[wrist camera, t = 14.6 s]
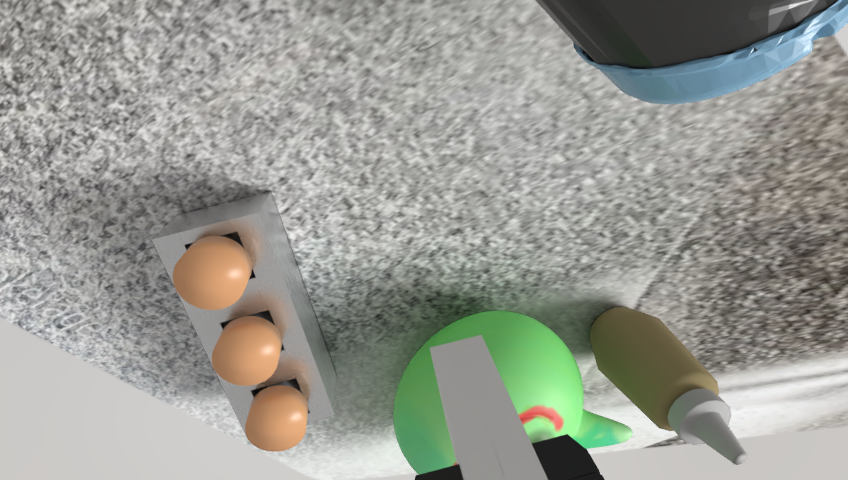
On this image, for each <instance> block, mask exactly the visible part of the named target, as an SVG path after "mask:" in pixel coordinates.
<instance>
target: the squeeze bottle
mask: <svg viewBox="0 0 848 480" xmlns="http://www.w3.org/2000/svg"><path fill="white" fill-rule="evenodd" d="M589 337H590V341H591V345H592V348H593V352H594V356H595V359H596V362H597V366H598V369H599V370H600V371H601V372H602V373H603V374H604V375H605V376H606V377H607V378H608V379H609V380H610V381H611V382H612V383H613V384H614V385H615V386H616V387H617V388H618V389H619V390H620V391H621V392H622V393H624V394H625V395H626V396H627V397H628V398H629V399H630V400H631V401H632V402H633V403H634V404H635V405H636V406H637V407H638V408H639V409H640V410H641V411H642V412H643V413H644V414H645V415H646V416H647V417H648V418H649V419H650V420H651V421H652V422H653V423H654V424H656V425H657V426H658V427H659V428H661V429H665V430H668V431H675V432H676V433H677V434H678V436H679V437H680V438H681V439H682V440H683V441H684V442H685V443H689V444H693V445H697V444H705V443H706V444H707V445H709V446H710V447H712V448H713V449H714V450H716V451H717V452H719V453H720V454H721V455H723V456H724V457H726V458H727V459H728V460H730V461H731V462H732V463H734V464H736V465H738V464H742V463H743V462H745V460H746V459H747V454H746V452H745V451H744V449H743V448H742V446H741V445H740V443H739V442H738V440H737V439H736V437H735V436H734V434H733V433H732V431H731V430H730V428H729V427H728V425H729V422H730V418H731V411H730V407H729V406H728V405H727V404H726V403H725V402H724V401H723V400H722V399H721V398H720V397H719V396H718V394H719V390H718V384H717V381H716V380H715V379H714V378H713V377H712V375H711V374H710V373H709V372H708V371H707V370H706V369H705V368H704V367H703V366H702V365H701V363H700V362H699V361H698V360H697V359H696V358H695V357H694V356H693V355H692V354H691V353H690V352H689V351H688V349H687V348H686V347H685V346H684V345H683V344H682V343H681V342H680V341H679V340H678V339H677V338H676V336H675V335H674V334H673V333H672V332H671V331H670V330H669V329H668V328H667V327H666V326H665V325H664V323H663V322H662V321H661V320H660V319H659V318H656V317H653V316H651V315H648V314H645V313H642V312H639V311H635V310H632V309H629V308H626V307H615V308H612V309H610V310H607V311H605V312H604V313H602V314H601V315H600V316H599V317H598V318H597V319H596V320H595V322H594V323H593V325H592V327H591V330H590V336H589Z"/></svg>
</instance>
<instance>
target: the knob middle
mask: <svg viewBox="0 0 848 480" xmlns="http://www.w3.org/2000/svg"><path fill="white" fill-rule="evenodd" d="M281 347H282V337H281V334H280V332H279V330H278V329H277V328H276V327H275V324H274V321H273V319H272V316H271V314H270V311H269V310H266V311H263V312H259V313H255V314H251V315H247V316H244V317H240V318H237V319H235V320H233V321H231V322H229V323H228V324H227V325H226V326H225V327H224V329H223V330H222V332H221V334H220V337H219V339H218V341H217V343H216V345H215V348H214V350H213V353H212V365H213V367H214V369H215V371H216V373H217V374H218V375H219V376H220V377H221V378H223V379H224V380H226V381H227V382H229V383H232V384H235V385H240V386H251V385H256V384H259V383H262V382H264V381H266V380H267V379H268V378H270V377H271V376H272V375H273V373H274V372H275V370H276V368H277V365H278V361H279V356H280V352H281Z"/></svg>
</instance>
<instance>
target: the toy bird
mask: <svg viewBox="0 0 848 480" xmlns="http://www.w3.org/2000/svg"><path fill="white" fill-rule="evenodd" d="M479 335H482V337H483V339H484V341H485V344H486V346H487V348H488V350H489V352H490V355H491V357H492V359H493V361H494V363H495V365H496V368H497V370H498V372H499V374H500V376H501V378H502V381H503V383H504V385H505V387H506V389H507V392H508V394H509V396H510V398H511V400H512V402H513V405H514V407H515V409H516V411H517V413H518V415H519V418H520V420H521V422H522V424H523V426H524V429H525V431H526V433H527V435H528V437H529V439H530V442H531V444H532V443H535V442H539V441H543V440H547V439H551V438H554V437H558V436H562V435H566V434H568V435H569V436H570V437H572V438H573V439H574V440H575V441H577V442H578V443H579V444H580V445H582V446H583V447H584V448H585V449H587V448H595V447H602V446H609V445H614V444H618V443H622V442H625V441H627V440H628V439H630V438H631V436H632V430H631V429H630V428H629V427H628V426H626V425H624V424H622V423H619V422H617V421H614V420H611V419H608V418H605V417H602V416H599V415H596V414H593V413H591V412H588V411H586V410H584V409H583V400H584V394H583V384H582V378H581V374H580V371H579V368H578V366H577V363H576V361H575V359H574V357H573V355H572V354H571V352H570V350H569V349H568V347H567V346H566V345H565V343H564V342H563V341H562V340H561V339H560V338H559V337H558V336H557V335H556V334H555V333H554V332H553V331H552V330H551V329H549V328H548V327H547V326H545V325H544V324H542V323H540V322H539V321H537V320H535V319H533V318H531V317H528V316H526V315H522V314H519V313H515V312H509V311H486V312H481V313H476V314H473V315H470V316H467V317H464V318H462V319H459V320H457V321H455V322H453V323H451V324H450V325H448V326H446V327H445V328H443V329H442V330H440V331H439V332H437V333H436V334H435V335H434V336H432V337H431V338H430V339H429V340H428V341H427V342H426V343H425V344H424V345H423V346H422V347H421V348H420V349H419V350H418V352H417V353H416V354H415V355H414V357H413V358H412V360H411V361H410V363H409V364H408V366H407V368H406V369H405V371H404V373H403V375H402V377H401V380H400V382H399V385H398V388H397V391H396V395H395V400H394V408H393V422H394V429H395V434H396V438H397V441H398V444H399V446H400V448H401V451H402V453H403V454H404V456H405V458H406V459H407V461H408V462H409V464H410V465H411V467H412V468H413V469H414V470H415V471H416V472H417V473H418V474H419V475H420V474H423V473H427V472H431V471H435V470H439V469H442V468H446V467H450V466H454V465H457V462H456V458H455V454H454V450H453V446H452V443H451V439H450V435H449V431H448V427H447V423H446V419H445V414H444V410H443V405H442V401H441V397H440V392H439V388H438V383H437V379H436V374H435V370H434V365H433V361H432V357H431V352H430V347H434V346H438V345H442V344H446V343H451V342H455V341H459V340H463V339H467V338H471V337H475V336H479Z"/></svg>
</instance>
